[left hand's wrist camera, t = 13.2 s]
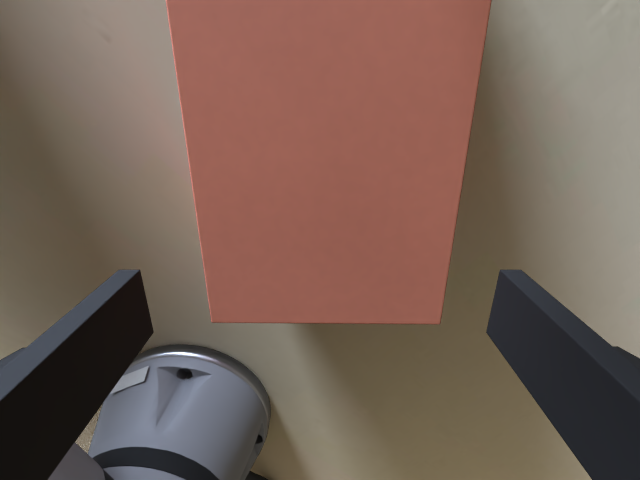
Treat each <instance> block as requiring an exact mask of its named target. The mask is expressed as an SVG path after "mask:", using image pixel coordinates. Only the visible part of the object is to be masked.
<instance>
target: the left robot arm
mask: <svg viewBox="0 0 640 480" xmlns="http://www.w3.org/2000/svg"><path fill="white" fill-rule="evenodd" d="M153 333H154V332H153V327H152V322H151V318H150V313H149V309H148V304H147V299H146V295H145V290H144V286H143V281H142V277H141V272H140V270H118V271H117V272H116V273H115V274H113V275H112V276H111V277H110V278H109V279H107V280H106V281H105V282H104V283H103V284H102V285H100V286H99V287H98V288H97V289H96V290H94V291H93V292H92V293H91V294H90V295H88V296H87V297H86V298H85V299H84V300H82V301H81V302H80V303H79V304H78V305H77V306H75V307H74V308H73V309H72V310H71V311H69V312H68V313H67V314H66V315H65V316H63V317H62V318H61V319H60V320H59V321H57V322H56V323H55V324H54V325H53V326H52V327H50V328H49V329H48V330H47V331H46V332H44V333H43V334H42V335H41V336H40V337H38V338H37V339H36V340H35V341H34V342H32V343H31V344H30V345H29V346H28V347H27V348H21V349H20V350H18V351H16V352H14V353H12V354H10V355H9V356H7V357H5V358H3V359H1V360H0V480H268V479H266V478H265V477H263V476H260V475H258V474H255V473H253V472H251V471H250V469H251V468H252V466H253V464H254V462H255V460H256V458H257V456H258V455H259V453H260V451H261V449H262V447H263V445H264V442H265V440H266V437H267V433H268V428H269V422H270V415H271V408H270V401H269V398H268V395H267V393H266V390H265V388H264V387H263V385H262V383H261V382H260V381H259V379H258V378H257V377H256V376H255V375H254V374H253V373H252V372H251V371H250V370H249V369H248V368H247V367H245V366H244V365H243V364H241V363H240V362H238V361H237V360H235V359H234V358H232V357H230V356H228V355H226V354H223V353H221V352H218V351H215V350H212V349H209V348H205V347H200V346H194V345H168V346H161V347H157V348H153V349H150V350H148V351H145V352H143V353H141V354H139V355H138V353H139V352H140V351H141V349H142V348H143V346H144V345H145V344H146V342H147V341H148V340H149V338H150V337H151V335H152V334H153ZM486 333H487V334H488V335H489V337H490V338H491V340H492V341H493V342H494V344H495V345H496V347H497V348H498V349H499V351H500V352H501V353H502V355H503V356H504V358H505V359H506V360H507V362H508V363H509V365H510V366H511V367H512V369H513V370H514V372H515V373H516V374H517V376H518V377H519V378H520V380H521V381H522V383H523V384H524V385H525V387H526V388H527V390H528V391H529V392H530V394H531V395H532V397H533V398H534V399H535V401H536V402H537V404H538V405H539V406H540V408H541V409H542V410H543V412H544V413H545V415H546V416H547V417H548V419H549V420H550V422H551V423H552V424H553V426H554V427H555V429H556V430H557V431H558V433H559V434H560V436H561V437H562V438H563V440H564V441H565V442H566V444H567V445H568V447H569V448H570V449H571V451H572V452H573V454H574V455H575V456H576V458H577V459H578V461H579V462H580V463H581V465H582V466H583V468H584V469H585V470H586V472H587V473H588V474H589V476H590V477H591V479H592V480H640V359H639V358H638V357H636V356H634V355H632V354H630V353H629V352H627V351H625V350H623V349H621V348H619V347H612V346H611V345H610V344H609V343H608V342H606V341H605V340H604V339H603V338H602V337H600V336H599V335H598V334H597V333H596V332H594V331H593V330H592V329H591V328H590V327H588V326H587V325H586V324H585V323H584V322H583V321H581V320H580V319H579V318H578V317H577V316H575V315H574V314H573V313H572V312H571V311H569V310H568V309H567V308H566V307H565V306H563V305H562V304H561V303H560V302H559V301H558V300H556V299H555V298H554V297H553V296H552V295H550V294H549V293H548V292H547V291H546V290H544V289H543V288H542V287H541V286H540V285H538V284H537V283H536V282H535V281H534V280H533V279H531V278H530V277H529V276H528V275H527V274H525V273H524V272H523V271H522V270H500V272H499V277H498V281H497V286H496V290H495V295H494V299H493V304H492V309H491V313H490V318H489V322H488V327H487V332H486ZM137 355H138V356H137ZM102 404H103V405H102ZM101 405H102V408H101V411H100V414H99V418H98V421H97V425H96V428H95V431H94V435H93V438H92V441H91V445H90V448H89V451H88V454H87V453H86V452H85V451H84V450H83V449H82V448H81V447H79V446H78V445H77V444H76V443H75V441H76V440H77V438H78V437H79V436H80V434H81V433H82V431H83V430H84V429H85V427H86V426H87V424H88V423H89V422H90V420H91V419H92V417H93V416H94V415H95V413H96V412H97V410H98V409H99V408H100V406H101Z"/></svg>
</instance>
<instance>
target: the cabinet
mask: <svg viewBox="0 0 640 480" xmlns="http://www.w3.org/2000/svg"><path fill="white" fill-rule="evenodd" d="M166 5H167V12H168V19H169V27H170V34H171V41H172V48H173V55H174V62H175V69H176V76H177V83H178V90H179V97H180V104H181V111H182V118H183V125H184V132H185V139H186V146H187V153H188V160H189V167H190V175H191V182H192V189H193V196H194V203H195V210H196V217H197V224H198V231H199V238H200V245H201V252H202V259H203V266H204V273H205V280H206V287H207V294H208V301H209V308H210V315H211V322H212V323H338V324H440V322H441V316H442V309H443V303H444V297H445V290H446V284H447V278H448V272H449V265H450V259H451V253H452V246H453V240H454V234H455V227H456V221H457V215H458V208H459V202H460V196H461V190H462V183H463V177H464V171H465V164H466V158H467V152H468V145H469V139H470V133H471V126H472V120H473V114H474V108H475V101H476V95H477V89H478V82H479V76H480V70H481V63H482V57H483V51H484V44H485V38H486V32H487V26H488V19H489V13H490V7H491V0H166Z"/></svg>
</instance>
